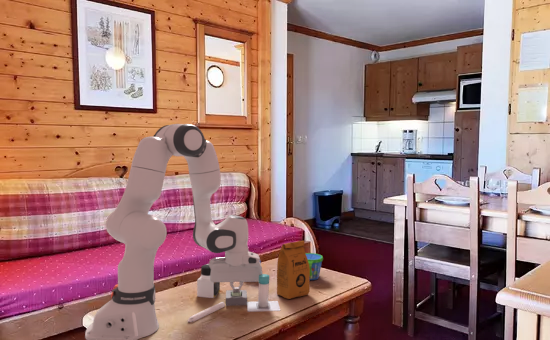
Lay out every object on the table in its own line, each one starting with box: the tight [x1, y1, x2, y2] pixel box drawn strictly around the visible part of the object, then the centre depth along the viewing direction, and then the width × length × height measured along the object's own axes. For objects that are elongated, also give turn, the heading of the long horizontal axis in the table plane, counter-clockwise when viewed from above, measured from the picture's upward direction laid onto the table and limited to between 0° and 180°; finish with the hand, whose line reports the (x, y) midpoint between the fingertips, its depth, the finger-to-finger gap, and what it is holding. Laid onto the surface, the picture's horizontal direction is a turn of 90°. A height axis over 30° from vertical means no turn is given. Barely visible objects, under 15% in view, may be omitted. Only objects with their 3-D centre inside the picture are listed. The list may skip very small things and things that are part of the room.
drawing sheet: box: [246, 300, 281, 313], centre depth 158 cm, size 12×9×1 cm
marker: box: [187, 301, 226, 323], centre depth 150 cm, size 18×2×2 cm, turn 145°
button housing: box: [225, 289, 248, 307], centre depth 162 cm, size 8×8×3 cm
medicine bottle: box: [196, 263, 221, 299], centre depth 169 cm, size 7×7×12 cm
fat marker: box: [257, 273, 270, 308], centre depth 157 cm, size 4×4×12 cm
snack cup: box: [305, 252, 324, 281], centre depth 190 cm, size 16×10×10 cm
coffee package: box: [276, 240, 311, 300], centre depth 169 cm, size 10×12×22 cm
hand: (236, 292), depth 162 cm, fingers closed, pressing on done button
